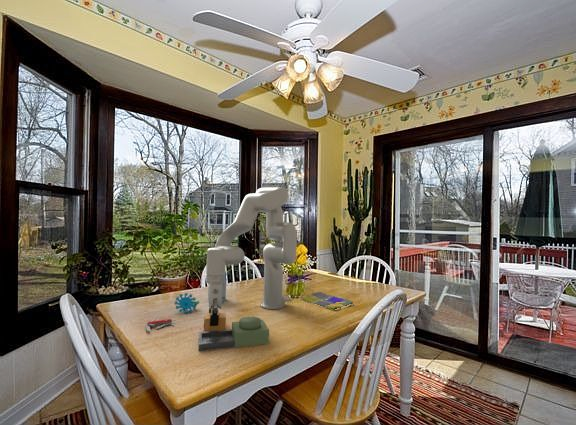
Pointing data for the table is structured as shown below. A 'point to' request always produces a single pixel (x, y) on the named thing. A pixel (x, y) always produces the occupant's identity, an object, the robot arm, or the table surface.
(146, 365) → the table surface
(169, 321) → the swiss army knife
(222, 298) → the beverage bottle
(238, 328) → the green domed block
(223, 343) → the dark gray rectangular tray
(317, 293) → the dish towel
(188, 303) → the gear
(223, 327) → the light orange rectangular block
